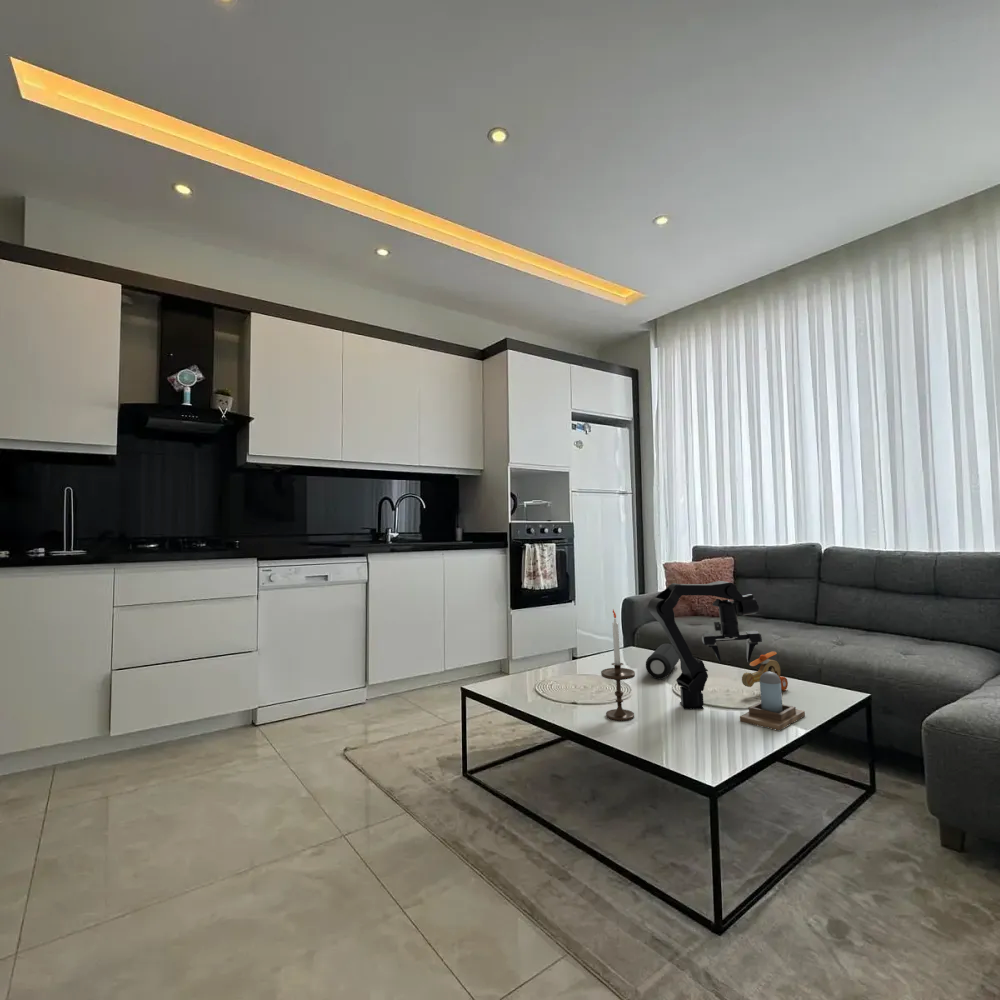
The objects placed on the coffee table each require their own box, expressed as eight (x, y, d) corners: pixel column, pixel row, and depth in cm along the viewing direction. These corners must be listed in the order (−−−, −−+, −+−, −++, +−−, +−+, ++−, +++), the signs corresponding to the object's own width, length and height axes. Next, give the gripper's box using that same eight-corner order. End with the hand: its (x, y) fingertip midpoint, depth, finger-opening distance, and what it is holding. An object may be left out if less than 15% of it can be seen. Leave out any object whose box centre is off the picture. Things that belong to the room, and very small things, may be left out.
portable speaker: (658, 664, 246) (656, 641, 246) (681, 666, 241) (680, 642, 242) (644, 679, 223) (643, 654, 224) (670, 681, 219) (668, 656, 219)
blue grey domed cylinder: (760, 715, 174) (758, 673, 174) (762, 709, 179) (760, 668, 179) (782, 717, 170) (779, 675, 171) (783, 711, 176) (781, 670, 176)
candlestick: (597, 714, 185) (591, 608, 187) (624, 709, 189) (619, 605, 191) (614, 724, 175) (609, 612, 177) (643, 718, 179) (638, 609, 180)
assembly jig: (779, 731, 164) (778, 719, 164) (740, 721, 173) (739, 709, 174) (805, 715, 176) (804, 704, 176) (766, 707, 185) (766, 696, 185)
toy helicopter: (790, 689, 203) (787, 651, 204) (756, 700, 192) (753, 660, 193) (769, 684, 210) (767, 647, 211) (735, 694, 199) (732, 656, 200)
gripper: (752, 611, 199) (757, 655, 198) (697, 615, 203) (702, 657, 202) (759, 617, 188) (765, 663, 187) (701, 621, 192) (707, 666, 191)
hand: (734, 662), depth 192 cm, fingers open, 9 cm apart
